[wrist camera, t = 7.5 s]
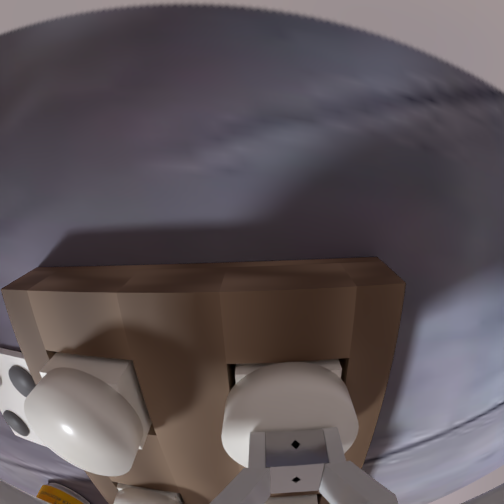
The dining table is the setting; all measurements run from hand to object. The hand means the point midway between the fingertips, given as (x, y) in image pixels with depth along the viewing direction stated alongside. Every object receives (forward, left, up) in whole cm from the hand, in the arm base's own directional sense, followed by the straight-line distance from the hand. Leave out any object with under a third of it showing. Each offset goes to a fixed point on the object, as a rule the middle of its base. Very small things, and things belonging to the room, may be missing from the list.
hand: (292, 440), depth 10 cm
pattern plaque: (-18, -5, -5) cm, 19 cm away
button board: (-4, -5, -5) cm, 8 cm away
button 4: (0, 0, -4) cm, 4 cm away
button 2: (-8, 0, -3) cm, 9 cm away
